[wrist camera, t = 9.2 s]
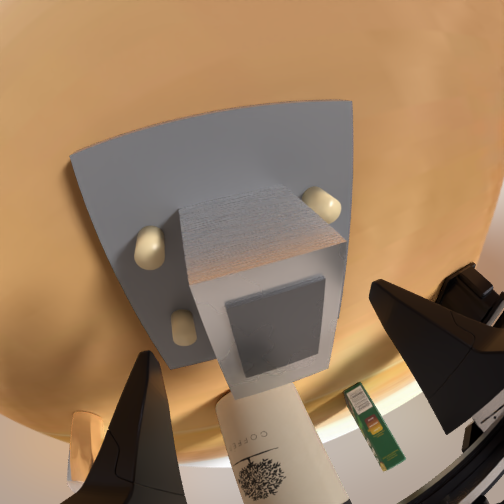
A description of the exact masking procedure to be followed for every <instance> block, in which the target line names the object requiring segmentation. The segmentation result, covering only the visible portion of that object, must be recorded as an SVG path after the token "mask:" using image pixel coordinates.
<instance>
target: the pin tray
mask: <svg viewBox="0 0 504 504" xmlns="http://www.w3.org/2000/svg"><path fill="white" fill-rule="evenodd" d="M70 159H71V163H72V166H73V169H74V172H75V176H76V179H77V182H78V185H79V188H80V191H81V193H82V196H83V199H84V202H85V205H86V207H87V210H88V213H89V215H90V218H91V220H92V223H93V225H94V228H95V230H96V233H97V235H98V237H99V240H100V242H101V244H102V247H103V249H104V251H105V253H106V256H107V258H108V260H109V262H110V264H111V266H112V268H113V270H114V273H115V275H116V277H117V279H118V281H119V283H120V285H121V287H122V289H123V290H124V292H125V294H126V296H127V298H128V300H129V302H130V304H131V306H132V307H133V309H134V311H135V313H136V315H137V316H138V318H139V320H140V322H141V323H142V325H143V327H144V328H145V330H146V332H147V334H148V335H149V337H150V338H151V340H152V342H153V343H154V345H155V347H156V348H157V350H158V351H159V353H160V354H161V356H162V358H163V359H164V361H165V362H166V364H167V365H168V367H169V368H170V370H171V369H176V368H180V367H184V366H189V365H193V364H197V363H201V362H205V361H209V360H213V359H217V357H216V355H215V353H214V350H213V348H212V345H211V343H210V340H209V338H208V335H207V332H206V330H205V327H204V325H203V322H202V319H201V317H200V314H199V311H198V309H197V306H196V303H195V300H194V298H193V295H192V292H191V289H190V286H189V281H188V274H187V268H186V261H185V254H184V247H183V240H182V232H181V224H180V215H179V208H182V207H186V206H190V205H193V204H197V203H201V202H205V201H209V200H213V199H218V198H222V197H226V196H230V195H235V194H239V193H243V192H248V191H252V190H257V189H262V188H266V187H271V186H276V185H281V184H283V185H284V186H285V187H286V188H287V189H289V190H290V191H291V192H292V193H293V194H295V195H296V196H297V197H298V198H299V199H300V200H302V201H303V202H304V203H305V204H306V205H307V206H309V207H310V208H311V209H312V210H313V211H314V212H315V213H317V214H318V215H319V216H320V217H321V218H322V219H323V220H324V221H325V222H327V223H328V224H329V225H330V226H331V227H332V228H333V229H334V230H335V231H336V232H338V233H339V234H340V235H341V236H342V237H343V238H344V239H345V240H346V241H347V248H346V258H345V267H344V276H343V284H342V292H341V299H340V306H339V312H338V318H337V319H339V313H340V307H341V300H342V293H343V286H344V279H345V271H346V262H347V253H348V243H349V232H350V219H351V204H352V182H353V110H352V101H347V100H305V101H289V102H277V103H267V104H258V105H250V106H243V107H236V108H229V109H223V110H217V111H212V112H207V113H202V114H197V115H192V116H187V117H183V118H178V119H174V120H170V121H166V122H162V123H158V124H155V125H151V126H148V127H144V128H141V129H137V130H134V131H131V132H128V133H124V134H121V135H118V136H115V137H112V138H109V139H107V140H104V141H101V142H98V143H96V144H93V145H90V146H88V147H85V148H83V149H80V150H78V151H76V152H74V153H73V154H71V155H70Z"/></svg>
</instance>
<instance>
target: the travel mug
mask: <svg viewBox="0 0 504 504" xmlns="http://www.w3.org/2000/svg"><path fill="white" fill-rule="evenodd" d="M215 410H216V414H217V417H218V421H219V425H220V429H221V432H222V436H223V439H224V443H225V446H226V450H227V453H228V456H229V460H230V463H231V466H232V469H233V472H234V475H235V478H236V481H237V484H238V487H239V490H240V493H241V496H242V499H243V502H244V504H352V503H351V501H350V499H349V497H348V495H347V493H346V491H345V489H344V487H343V485H342V483H341V481H340V479H339V477H338V475H337V473H336V471H335V469H334V467H333V465H332V463H331V461H330V459H329V457H328V455H327V452H326V451H325V448H324V446H323V444H322V442H321V440H320V438H319V436H318V434H317V432H316V430H315V428H314V425H313V423H312V421H311V419H310V417H309V415H308V413H307V411H306V409H305V407H304V404H303V402H302V400H301V398H300V396H299V394H298V392H297V389H296V387H295V385H294V384H293V383H292V382H291V383H289V384H286V385H283V386H280V387H277V388H274V389H271V390H268V391H265V392H261V393H258V394H255V395H252V396H248V397H245V398H241V399H238V400H235V399H234V397H233V395H232V393H231V392H230V393H228V394H227V395H225V396H224V397H223V398H221V399H220V400H219V401H218V403H217V404H216V407H215Z"/></svg>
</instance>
